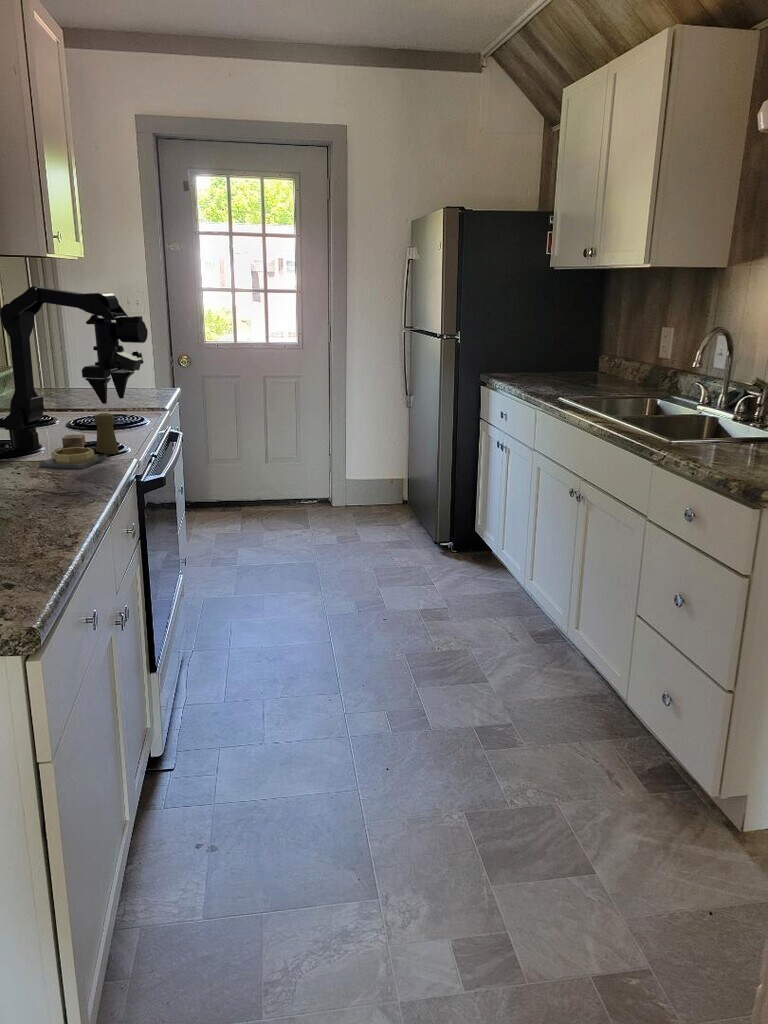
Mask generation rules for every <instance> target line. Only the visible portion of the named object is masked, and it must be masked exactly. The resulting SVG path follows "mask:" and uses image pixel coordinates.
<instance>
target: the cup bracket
mask: <svg viewBox="0 0 768 1024" xmlns="http://www.w3.org/2000/svg"><path fill="white" fill-rule="evenodd" d="M106 458H107V459H108V455H103V454H96V453H95V451H94V449H92V448H91V447H86V448H85V447H72V448H63V447H62V448H58V449H55V450H53V451H51V458H48V459H45V460H43V461H40V462H39V463H38V464H39V467H40V468H57V469H58V468H59V469H60V468H61V469H75V468H79V469H80V470H84V469H87V468H88V466H89V467H91V466H93V465H95V464H98V463H100V462H102V461H104V460H107V459H106ZM101 460H102V461H101ZM99 461H100V462H99ZM97 462H98V463H97ZM90 465H91V466H90Z"/></svg>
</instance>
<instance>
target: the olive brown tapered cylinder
mask: <svg viewBox="0 0 768 1024" xmlns="http://www.w3.org/2000/svg"><path fill="white" fill-rule="evenodd" d="M94 424H95V426H96V447H95V448H96V450H95V452H96V451H98V452H100V453H104V454H114V453H118V452H119V453H120V451H119V445H118V443H117V437H116V432H115V428H114V424H115V417H114V415H113V414H112V413H109V412H107V413H106V412H101V413H98V414H95V416H94ZM119 453H118V454H119Z"/></svg>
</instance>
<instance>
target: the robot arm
mask: <svg viewBox="0 0 768 1024" xmlns="http://www.w3.org/2000/svg"><path fill="white" fill-rule="evenodd" d="M44 304H52V305H57V306H64V307H69V308H70V307H71V308H77V309H78V310H79V309H80V310H81V311H84V312H86V313H89V314H91V316H90V317H89V318H88V319H87V321H86V322H85V323H86V325H94V333H95V334H94V336H95V346H93V345H92V346H93V347H92V348H93V351H96V357H97V361H96V362H94V365H93V364H90V365H87V366H84V367H83V368H82V369H81V376H82V379H84V380H85V381H87V383H88V384H89V385H90V386H91V387H92V389H93V391H94V393H95V394H96V396H97V397H98V399H99V400H100V403H101V404H103V405H104V404H105V405H106V404H107V401H108V384H109V383H110V381H111V380H112V383H113V385H114V388H115V390H116V393H117V397H118V398H119V399H124V398H125V393H126V389H127V383H128V381H129V378H130V377H132V375H134V374H135V371H140V369H141V365H142V364H143V365H144V363H145V362H144V360H143V359H144V358H143V353H142V352H141V351H138V350H134V351H132V352H126V351H125V349H124V346H123V345H120V342H122V343H129V344H130V343H132V344H133V343H137V344H144V343H146V341H147V340H148V328H147V326H146V323H145V321H143V316H142V315H136V316H129V315H128V314H127V312H125V310H124V309H123V307H122V306H121V305H120V304H119V300H118V298H117V296H116V295H115V294H114V293H112V292H91V293H82V292H76V291H70V290H62V289H57V288H49V287H45V286H41V285H40V286H39V285H38V286H37V285H35V286H29V288H27V289H26V290H25V291H24V292H23V293H22V294H20V295H18V296H17V297H15V298H13V300H11V301H10V302H9V303H5V304H3V305H2V307H1V308H0V320H1V324H2V328H3V329H4V331H5V332H6V334H7V335H8V337H9V344H10V353H11V354H10V355H11V356H10V357H11V365H12V373H13V374H12V375H13V385H14V392H13V395H12V397H11V400H10V404H9V405H10V407H9V414H8V415H7V416H6V418H5V419H4V420H3V421H2V426H3V427H4V430H6V431H8V433H9V439H10V448H11V447H12V448H14V449H16V450H25V451H24V452H31V451H34V450H37V449H39V448H41V447H42V445H41V444H40V441H39V433H38V432H37V427H36V426H39V423H40V419H41V418H42V417H43V414H44V411H46V409H45V405H44V399H45V398H44V396H43V395H41V396H39V395H38V393H37V392H36V390H35V385H34V372H33V371H34V370H33V363H32V362H33V361H32V352H31V351H32V349H31V340H30V339H31V334H32V332H33V330H34V327H35V315H37V314H38V313H39V312H40V311H41V310H42V307H43V306H44Z"/></svg>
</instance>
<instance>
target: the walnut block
mask: <svg viewBox="0 0 768 1024" xmlns="http://www.w3.org/2000/svg"><path fill="white" fill-rule="evenodd" d="M61 440H62V449H63V448H71V447H83V446H84V445H85V444H86V437H85V434H82V433H81V434H64V436H63V437H62V439H61Z"/></svg>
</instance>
